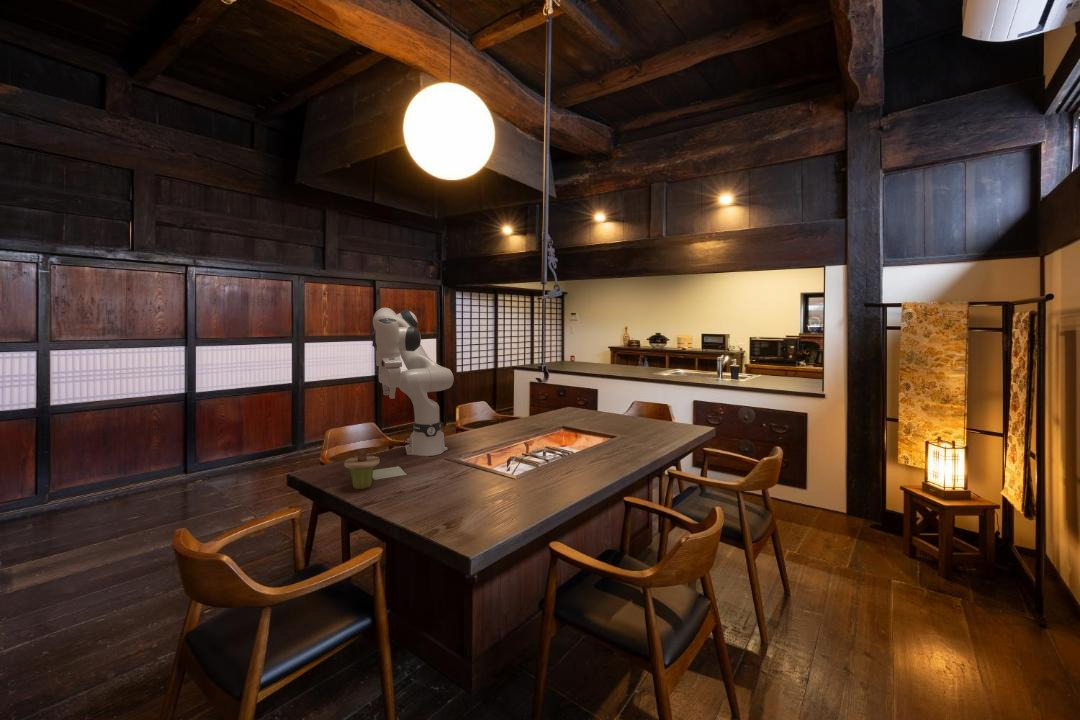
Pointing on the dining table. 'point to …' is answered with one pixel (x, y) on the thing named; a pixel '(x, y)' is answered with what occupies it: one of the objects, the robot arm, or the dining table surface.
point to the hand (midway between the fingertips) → (389, 396)
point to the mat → (387, 473)
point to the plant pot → (362, 477)
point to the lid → (361, 460)
